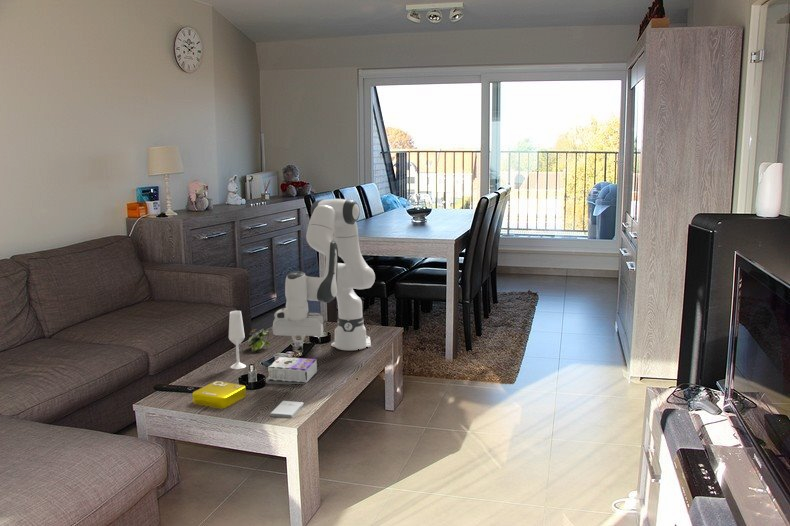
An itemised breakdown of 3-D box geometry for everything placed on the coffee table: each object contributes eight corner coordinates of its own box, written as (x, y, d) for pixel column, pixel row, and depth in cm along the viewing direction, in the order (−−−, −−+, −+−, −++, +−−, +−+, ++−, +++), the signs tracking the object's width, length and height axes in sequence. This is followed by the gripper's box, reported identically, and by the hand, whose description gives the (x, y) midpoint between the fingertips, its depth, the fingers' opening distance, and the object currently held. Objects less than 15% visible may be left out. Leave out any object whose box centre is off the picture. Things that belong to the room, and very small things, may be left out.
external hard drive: (269, 417, 244) (282, 404, 256) (292, 419, 243) (303, 406, 254) (269, 413, 244) (282, 400, 256) (291, 414, 242) (303, 401, 254)
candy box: (317, 372, 289) (279, 369, 292) (317, 358, 288) (279, 356, 291) (306, 383, 276) (267, 380, 279) (306, 369, 275) (267, 366, 278)
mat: (274, 370, 293) (274, 369, 292) (313, 371, 290) (313, 371, 290) (262, 383, 277) (262, 382, 277) (304, 384, 275) (304, 384, 275)
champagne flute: (243, 363, 303) (240, 309, 299) (248, 367, 297) (245, 312, 293) (228, 365, 300) (225, 311, 295) (233, 370, 294) (230, 314, 290)
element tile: (190, 404, 257) (189, 391, 256) (216, 391, 271) (215, 379, 270) (223, 410, 251) (222, 397, 250) (248, 396, 264) (247, 384, 264)
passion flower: (254, 358, 327) (256, 334, 332) (275, 356, 324) (277, 331, 329) (242, 351, 317) (244, 326, 322) (263, 348, 314) (265, 323, 319)
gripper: (324, 310, 280) (325, 343, 283) (275, 310, 283) (276, 343, 285) (321, 314, 274) (322, 348, 277) (270, 314, 277) (272, 347, 279)
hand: (298, 345), depth 281 cm, fingers closed
